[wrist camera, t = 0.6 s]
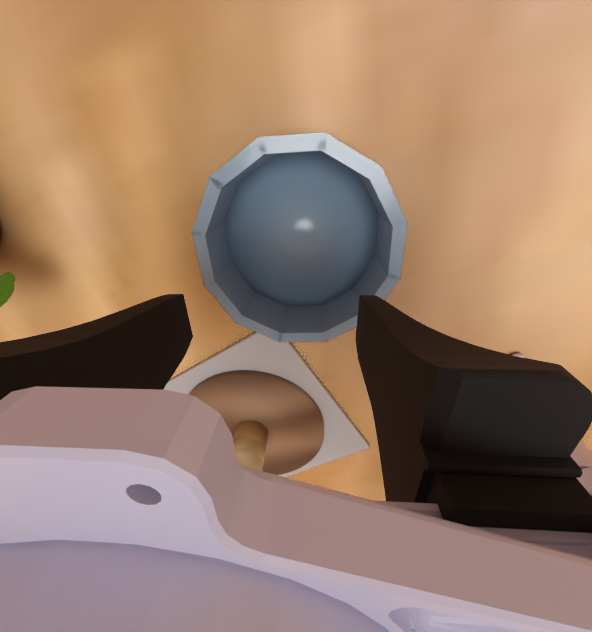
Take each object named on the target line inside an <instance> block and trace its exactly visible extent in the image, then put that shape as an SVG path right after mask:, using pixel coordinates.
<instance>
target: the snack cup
mask: <svg viewBox="0 0 592 632" xmlns="http://www.w3.org/2000/svg"><path fill="white" fill-rule="evenodd" d="M14 281H15V276H14V275H13V274H12V273H4V274H3V275H1V276H0V307H1V306H2V305H3V304H4V303H6V302H7V300H8V299H9V297H10V296H11V295H12V293H13V291H14Z"/></svg>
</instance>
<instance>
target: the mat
mask: <svg viewBox="0 0 592 632" xmlns="http://www.w3.org/2000/svg"><path fill="white" fill-rule="evenodd" d="M234 370H254V371H261V372H266V373H270V374H274V375H277V376H280V377H282V378H285V379H287V380H289V381H291V382H293V383H294V384H296V385H298V386H299V387H301V388H302V389H303V390H304V391H306V392H307V393H308V394H309V395H310V396H311V397H312V398H313V399H314V401H315V402H316V404H317V405H318V407H319V409H320V411H321V413H322V416H323V421H324V440H323V444H322V446H321V448H320V450H319V452H318V453H317V455H316V456H315V457H314V458H313V459H312V460H311V461H310V462H309V463H307V464H306V465H304V466H303V467H301V468H299V469H297V470H294V471H292V472H289V473H285V474H281V475H278V476H282V477H288V476H290V475H293V474H296V473H299V472H302V471H305V470H308V469H310V468H313V467H316V466H319V465H322V464H325V463H328V462H330V461H333V460H336V459H339V458H342V457H345V456H348V455H350V454H353V453H356V452H359V451H362V450H365V449H368V448H370V445H369V443H368V442H367V441H366V439H365V438H364V437H363V435H362V434H361V433H360V432H359V430H358V429H357V428H356V426H355V425H354V424H353V423H352V421H351V420H350V419H349V417H348V416H347V415H346V414H345V412H344V411H343V410H342V408H341V407H340V406H339V404H338V403H337V402H336V401H335V399H334V398H333V397H332V395H331V394H330V393H329V392H328V390H327V389H326V388H325V386H324V385H323V384H322V383H321V381H320V380H319V379H318V377H317V376H316V375H315V373H314V372H313V371H312V370H311V368H310V367H309V366H308V364H307V363H306V362H305V361H304V359H303V358H302V357H301V355H300V354H299V353H298V352H297V350H296V349H295V348H294V346H293V345H292V344H291V342H280V343H279V342H277V341H275V340H273V339H270V338H268V337H266V336H264V335H262V334H259V333H257V332H254V333H252V334H251V335H249V336H247V337H245V338H243V339H242V340H240V341H238V342H236V343H234V344H233V345H231V346H229V347H227V348H226V349H224V350H222V351H220V352H218V353H217V354H215V355H213V356H211V357H209V358H208V359H206V360H204V361H202V362H200V363H199V364H197V365H195V366H193V367H191V368H190V369H188V370H186V371H184V372H182V373H181V374H179V375H177V376H175V377H174V378H172V379H170V380H169V381H168V383H167V384H166V386H165V388H164V389H163V390H169V391H174V392H178V393H183V394H187V395H189V393H190V392H191V391H192V390H193V389H194V387H196V386H197V385H198V384H199V383H200V382H202V381H204V380H205V379H207V378H209V377H211V376H213V375H216V374H219V373H223V372H228V371H234Z"/></svg>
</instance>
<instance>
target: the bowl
mask: <svg viewBox="0 0 592 632" xmlns="http://www.w3.org/2000/svg"><path fill="white" fill-rule="evenodd" d="M406 229H407V221H406V219H405V217H404V214H403V212H402V210H401V208H400V206H399V204H398V201H397V199H396V197H395V195H394V193H393V191H392V189H391V186H390V184H389V182H388V180H387V178H386V176H385V173H384V171H383V169H382V167H381V166H380V165H378V164H376V163H375V162H373V161H371V160H370V159H368V158H366V157H365V156H363V155H362V154H360V153H358V152H357V151H355V150H353V149H352V148H350V147H348V146H347V145H345V144H343V143H342V142H340V141H338V140H337V139H335V138H333V137H332V136H330V135H328V134H327V133H325V132H322V133H308V134H294V135H280V136H266V137H258V138H257V139H256V140H254V141H253V142H252V143H251V144H249V145H248V146H247V147H246V148H245V149H243V150H242V151H241V152H240V153H238V154H237V155H236V156H235V157H234V158H232V159H231V160H230V161H229V162H227V163H226V164H225V165H224V166H222V167H221V168H220V169H219V170H218V171H216V172H215V173H214V174H213V175H211V176H210V177H209V180H208V184H207V187H206V190H205V193H204V196H203V199H202V202H201V206H200V209H199V212H198V215H197V218H196V221H195V224H194V228H193V231H192V235H193V240H194V244H195V248H196V253H197V257H198V262H199V266H200V271H201V275H202V280H203V285H204V286H205V287H206V288H207V289H208V291H209V292H210V293H211V294H212V295H213V297H214V298H215V299H216V300H217V301H218V302H219V304H220V305H221V306H222V307H223V308H224V310H225V311H226V312H227V313H228V314H229V315H230V317H231V318H232V319H233V320H234V321H235V323H237V324H239V325H241V326H244V327H246V328H248V329H250V330H253V331H255V332H257V333H259V334H262V335H264V336H266V337H268V338H270V339H273V340H275V341H277V342H279V343H280V342H327V341H329V340H331V339H333V338H335V337H337V336H339V335H341V334H343V333H345V332H347V331H349V330H351V329H353V328H355V327H357V318H358V307H359V296H360V295H376V296H378V297H380V298H381V299H383V300H385V299H386V297H387V296H388V295H389V293H390V292H391V291H392V289H393V288H394V287H395V285H396V284H397V283H398V281H399V280H400V278H401V269H402V261H403V253H404V245H405V237H406Z"/></svg>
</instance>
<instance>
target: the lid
mask: <svg viewBox="0 0 592 632" xmlns="http://www.w3.org/2000/svg"><path fill="white" fill-rule="evenodd" d="M189 395H192V396H196V397H197V398H199V399H200V400H202V401H203V402H205V403H206V404H208V405H209V406H211V407H212V408H214V409H215V410H217V411H218V412H219V413H220V414H221V416H222V418H223V419H224V421H225V423H226V425H227V427H228V428H229V430H230V432H231V434H232V438H233V443H234V448H235V454H236V457H237V460H238V462H239V464H240V465H241V466H245V467H248V468H252V469H256V470H260V471H263V472H267V473H271V474H275V475H281V474H285V473H289V472H292V471H294V470H297V469H299V468H301V467H303V466H304V465H306V464H307V463H309V462H310V461H311V460H312V459H313V458H314V457H315V456H316V455H317V453H318V452H319V450H320V448H321V446H322V444H323V440H324V421H323V416H322V413H321V411H320V409H319V407H318V405H317V404H316V402H315V401H314V399H313V398H312V397H311V396H310V395H309V394H308V393H307V392H306V391H304V390H303V389H302V388H301V387H299V386H298V385H296V384H294V383H293V382H291V381H289V380H287V379H285V378H282V377H280V376H277V375H274V374H270V373H266V372H261V371H254V370H234V371H228V372H223V373H219V374H216V375H213V376H211V377H209V378H207V379H205V380H204V381H202V382H200V383H199V384H198V385H197V386H196V387H194V389H193V390H192V391H191V392H190V393H189Z"/></svg>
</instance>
